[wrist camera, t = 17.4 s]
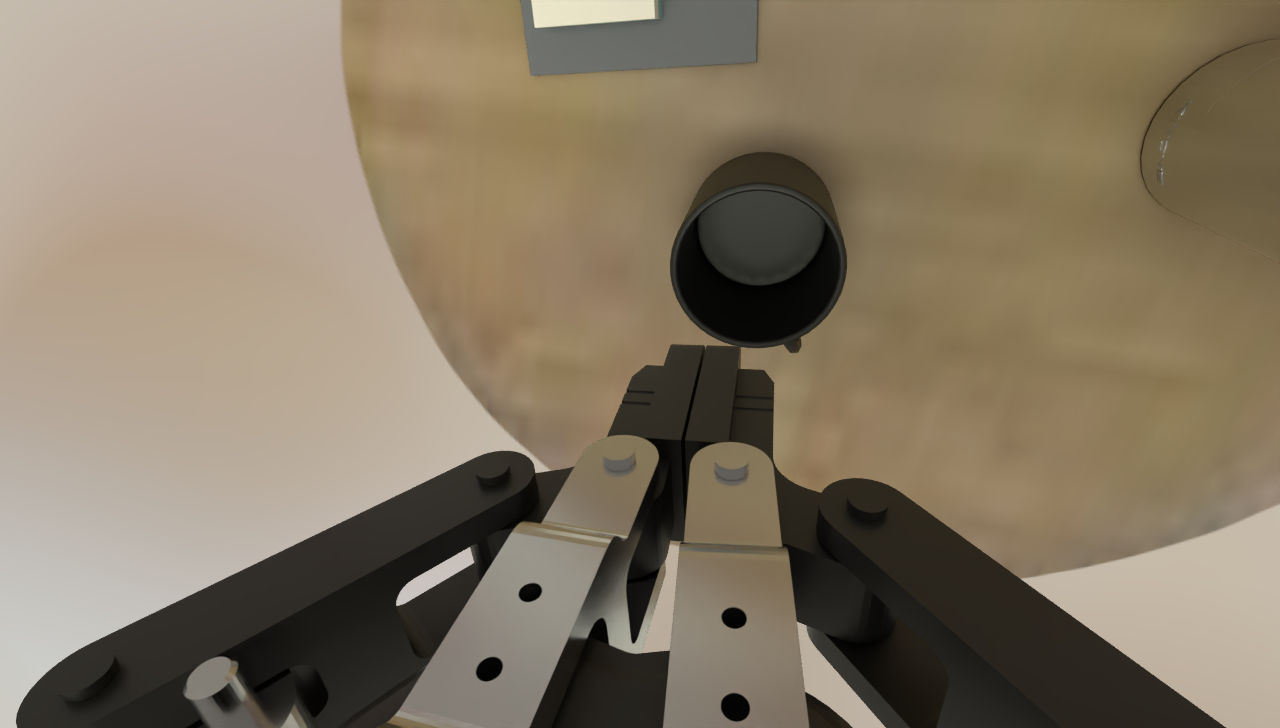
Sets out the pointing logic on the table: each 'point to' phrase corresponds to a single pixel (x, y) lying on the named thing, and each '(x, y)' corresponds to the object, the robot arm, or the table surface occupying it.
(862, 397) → the table surface
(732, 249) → the mug
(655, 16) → the block
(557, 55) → the mat
